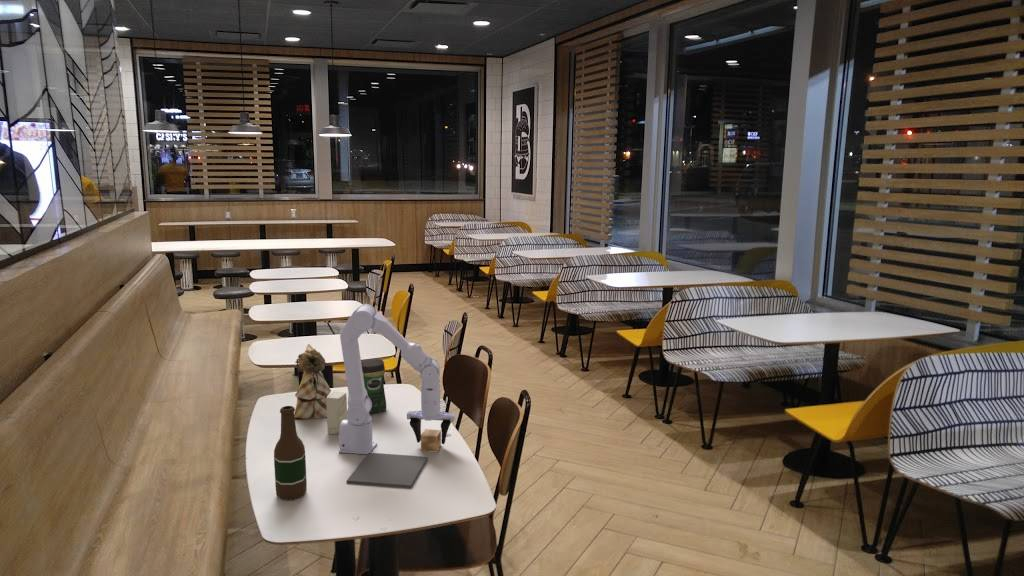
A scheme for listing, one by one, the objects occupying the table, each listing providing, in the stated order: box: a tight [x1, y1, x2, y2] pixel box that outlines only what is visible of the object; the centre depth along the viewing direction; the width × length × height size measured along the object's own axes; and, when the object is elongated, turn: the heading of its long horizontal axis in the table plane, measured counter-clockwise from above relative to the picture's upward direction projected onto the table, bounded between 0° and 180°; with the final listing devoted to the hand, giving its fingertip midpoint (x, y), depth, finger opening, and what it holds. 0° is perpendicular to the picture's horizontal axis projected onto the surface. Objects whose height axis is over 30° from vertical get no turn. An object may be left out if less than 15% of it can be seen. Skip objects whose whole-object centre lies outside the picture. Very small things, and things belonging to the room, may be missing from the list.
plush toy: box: [294, 343, 332, 420], centre depth 232 cm, size 14×14×25 cm
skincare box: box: [326, 391, 348, 435], centre depth 219 cm, size 6×4×12 cm
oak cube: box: [420, 428, 442, 452], centre depth 208 cm, size 5×5×5 cm
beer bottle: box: [273, 405, 308, 501], centre depth 177 cm, size 8×8×24 cm
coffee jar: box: [361, 357, 387, 415], centre depth 237 cm, size 10×8×19 cm
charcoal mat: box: [346, 452, 429, 489], centre depth 193 cm, size 18×18×1 cm
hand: (431, 442), depth 208 cm, fingers open, 7 cm apart
